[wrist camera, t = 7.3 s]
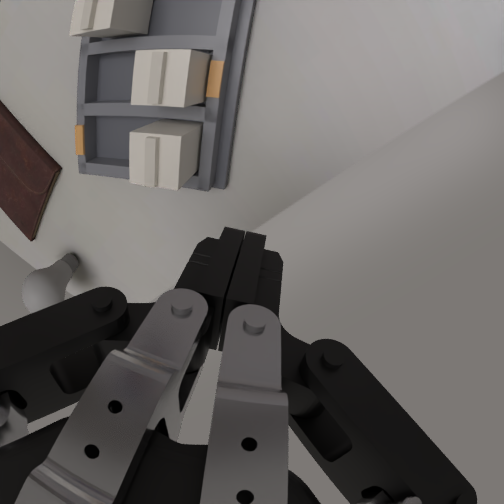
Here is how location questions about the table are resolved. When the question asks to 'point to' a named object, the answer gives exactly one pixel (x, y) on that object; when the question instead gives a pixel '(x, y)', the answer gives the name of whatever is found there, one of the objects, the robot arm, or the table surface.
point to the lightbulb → (48, 284)
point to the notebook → (24, 175)
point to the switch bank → (136, 116)
